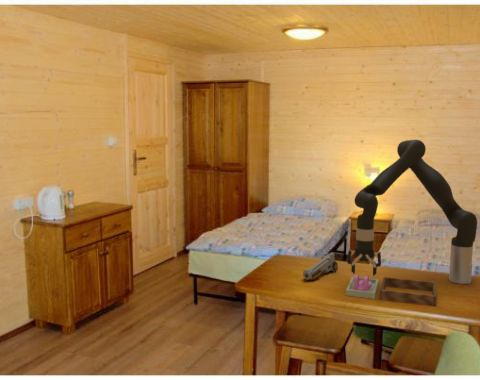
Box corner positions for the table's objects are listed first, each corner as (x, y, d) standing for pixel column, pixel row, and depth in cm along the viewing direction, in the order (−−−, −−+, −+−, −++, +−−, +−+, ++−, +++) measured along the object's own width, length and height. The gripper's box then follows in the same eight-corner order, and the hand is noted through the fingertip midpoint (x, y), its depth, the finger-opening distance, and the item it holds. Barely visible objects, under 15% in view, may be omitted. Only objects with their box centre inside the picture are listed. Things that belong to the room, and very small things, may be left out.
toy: (339, 270, 254) (337, 251, 251) (312, 291, 238) (310, 271, 235) (329, 268, 258) (327, 249, 255) (302, 288, 241) (300, 269, 238)
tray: (378, 284, 234) (378, 279, 233) (374, 298, 216) (374, 293, 216) (351, 281, 238) (352, 276, 237) (345, 295, 220) (346, 289, 220)
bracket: (366, 293, 220) (367, 277, 219) (353, 291, 222) (354, 275, 221) (372, 284, 232) (373, 269, 230) (360, 282, 234) (360, 267, 233)
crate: (434, 291, 226) (435, 282, 225) (435, 306, 208) (436, 296, 208) (383, 285, 233) (383, 276, 233) (379, 299, 215) (380, 290, 215)
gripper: (382, 237, 225) (381, 273, 227) (349, 235, 229) (348, 270, 232) (381, 241, 218) (379, 278, 220) (347, 239, 222) (346, 275, 225)
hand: (363, 274), depth 226 cm, fingers open, 8 cm apart
